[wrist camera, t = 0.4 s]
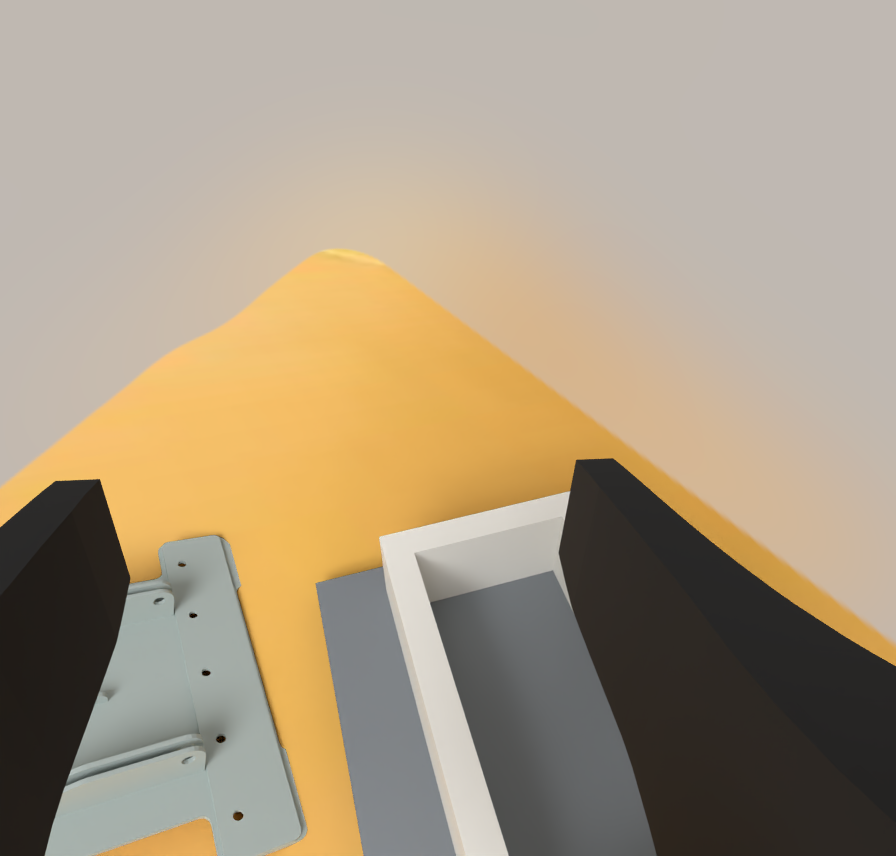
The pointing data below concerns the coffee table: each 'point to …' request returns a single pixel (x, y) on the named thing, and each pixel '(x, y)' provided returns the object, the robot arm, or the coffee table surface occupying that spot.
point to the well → (477, 697)
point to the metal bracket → (181, 723)
